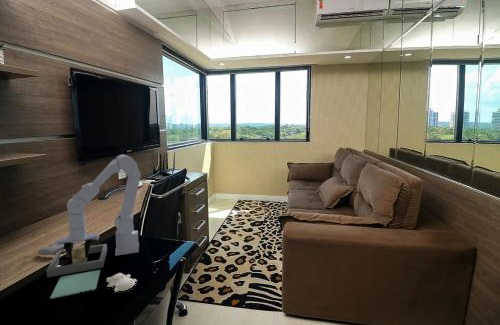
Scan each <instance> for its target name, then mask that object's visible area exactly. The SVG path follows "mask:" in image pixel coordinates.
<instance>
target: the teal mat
mask: <svg viewBox="0 0 500 325" xmlns="http://www.w3.org/2000/svg"><path fill="white" fill-rule="evenodd" d="M100 274H101V269H99V270H98V269H97V270H96V269H95V270H93V271H92V270H90V271H86V272H85V271H84V272H81V273H73V274H71V275H70V274H68V275H63V276H60V278H59V279H58V281H57V284H56V286H55V287H54V289H53V292H52V293H51V296H50V298H49V299H50V300H54V299H57V298H62V297H67V296H71V295H76V294H77V295H78V294H80V292H82V293H86V292H85V291H87V292H90V291H89V290H91V291H95V289H96V290H97V285H98V282H99V278H100Z"/></svg>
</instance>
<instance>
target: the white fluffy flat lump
mask: <svg viewBox="0 0 500 325" xmlns="http://www.w3.org/2000/svg"><path fill="white" fill-rule="evenodd" d="M130 277H131V274H129V273H128V274H123V273H122V272H118V273H115V274H114V275H112V276H109V277H106V283H107V282H108V283H109V284H108V283H107V286H106V288H107V287H112V288H114V289H113V291H115V292H114V293H116V292H118V291H125V290H128V289H130V288H132V287H133V286H134V285H135V284H136V285H137V283H135V282H138V280H137V279H136V278H132V277H131V278H130ZM136 285H135V286H136ZM113 286H115V287H113ZM132 289H133V288H132ZM130 290H131V289H130ZM128 291H129V290H128ZM125 292H126V291H125ZM118 293H119V292H118Z"/></svg>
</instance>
